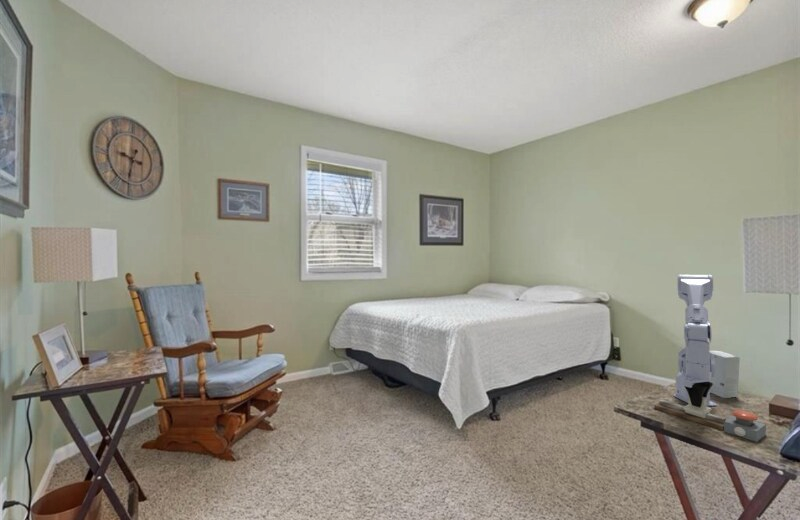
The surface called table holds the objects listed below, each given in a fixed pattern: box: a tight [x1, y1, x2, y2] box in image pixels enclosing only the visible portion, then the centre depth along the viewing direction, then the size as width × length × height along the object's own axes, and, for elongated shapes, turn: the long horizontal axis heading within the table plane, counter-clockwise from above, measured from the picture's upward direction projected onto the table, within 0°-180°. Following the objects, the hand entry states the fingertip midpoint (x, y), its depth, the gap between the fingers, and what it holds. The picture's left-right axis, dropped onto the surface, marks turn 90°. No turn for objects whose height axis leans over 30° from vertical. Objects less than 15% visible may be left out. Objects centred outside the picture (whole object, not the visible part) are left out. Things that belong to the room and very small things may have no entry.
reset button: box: [732, 409, 758, 427], centre depth 105 cm, size 5×5×3 cm
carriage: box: [683, 395, 713, 418], centre depth 115 cm, size 5×6×6 cm
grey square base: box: [723, 414, 767, 443], centre depth 105 cm, size 7×7×3 cm
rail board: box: [653, 399, 727, 431], centre depth 116 cm, size 18×6×2 cm, turn 31°
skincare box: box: [709, 350, 741, 399], centre depth 133 cm, size 8×6×15 cm
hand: (697, 405), depth 115 cm, fingers closed on carriage, 2 cm apart
